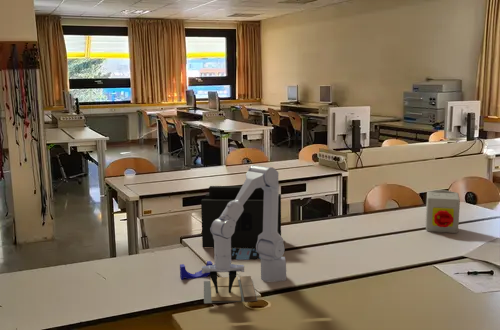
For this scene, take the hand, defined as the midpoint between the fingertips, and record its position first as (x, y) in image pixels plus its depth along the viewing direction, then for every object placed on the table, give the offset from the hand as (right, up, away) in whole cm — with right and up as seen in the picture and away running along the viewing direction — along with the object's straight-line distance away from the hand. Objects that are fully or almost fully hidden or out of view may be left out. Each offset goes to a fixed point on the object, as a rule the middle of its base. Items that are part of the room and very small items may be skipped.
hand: (223, 292), depth 183 cm
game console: (+5, +6, +55) cm, 56 cm away
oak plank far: (0, 0, +11) cm, 11 cm away
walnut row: (+8, -1, +6) cm, 10 cm away
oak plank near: (+1, -1, 0) cm, 2 cm away
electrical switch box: (+103, +11, +77) cm, 129 cm away
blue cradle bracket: (-11, 0, +21) cm, 24 cm away
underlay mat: (+2, -2, +6) cm, 6 cm away
